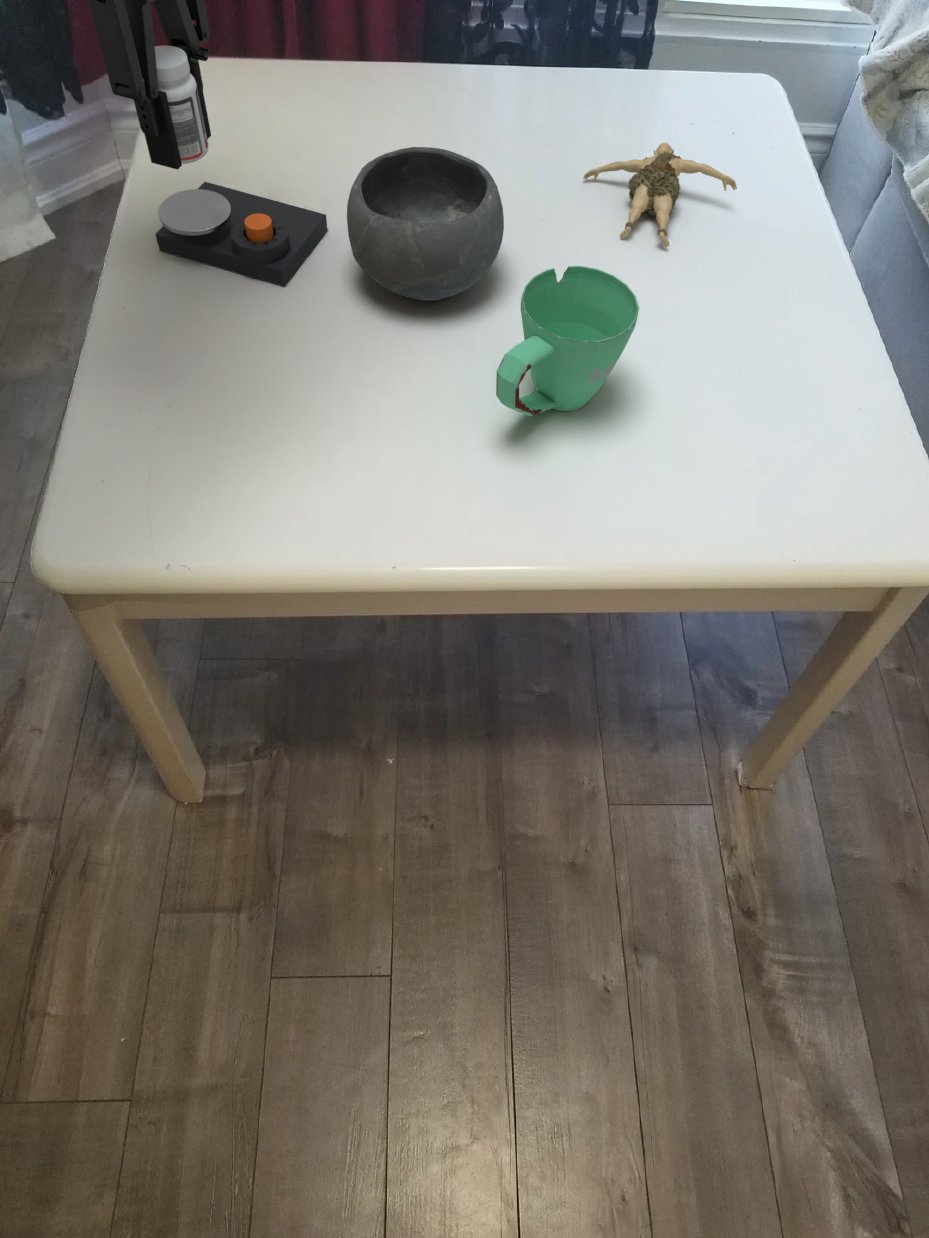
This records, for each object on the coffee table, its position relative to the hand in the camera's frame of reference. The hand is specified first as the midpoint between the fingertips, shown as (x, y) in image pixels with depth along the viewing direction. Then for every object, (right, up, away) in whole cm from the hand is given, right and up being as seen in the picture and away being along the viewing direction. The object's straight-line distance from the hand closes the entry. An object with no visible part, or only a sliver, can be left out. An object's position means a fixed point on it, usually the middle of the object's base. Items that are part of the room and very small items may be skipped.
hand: (181, 148), depth 85 cm
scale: (+4, -5, +9) cm, 11 cm away
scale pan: (0, -4, +6) cm, 7 cm away
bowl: (+22, -9, +8) cm, 25 cm away
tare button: (+6, -6, +5) cm, 10 cm away
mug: (+34, -24, -2) cm, 42 cm away
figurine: (+47, +1, +16) cm, 49 cm away
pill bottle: (0, 0, 0) cm, 0 cm away
